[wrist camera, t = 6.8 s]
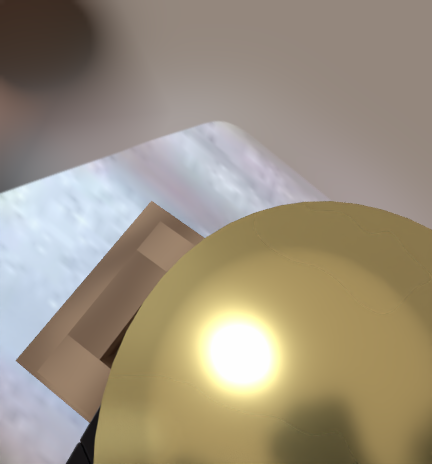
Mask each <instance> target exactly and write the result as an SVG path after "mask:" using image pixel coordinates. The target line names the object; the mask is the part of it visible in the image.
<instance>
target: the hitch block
mask: <svg viewBox="0 0 432 464" xmlns="http://www.w3.org/2000/svg"><path fill="white" fill-rule="evenodd" d="M204 239H205V238H204V237H202V236H201V235H200V234H198V233H197V232H195V231H194V230H192V229H191V228H190V227H188V226H187V225H185V224H184V223H182V222H181V221H180V220H178V219H177V218H175V217H174V216H172V215H171V214H170V213H168V212H167V211H165V210H164V209H162V208H161V207H160V206H158V205H157V204H155V203H154V202H152V201H151V202H150V203H149V204H148V206H147V207H146V208H145V209H144V210H143V212H142V213H141V214H140V215H139V216H138V217H137V219H136V220H135V221H134V222H133V223H132V224H131V226H130V227H129V228H128V229H127V230H126V232H125V233H124V234H123V235H122V236H121V237H120V239H119V240H118V241H117V242H116V243H115V244H114V246H113V247H112V248H111V249H110V250H109V252H108V253H107V254H106V255H105V256H104V257H103V259H102V260H101V261H100V262H99V263H98V264H97V266H96V267H95V268H94V269H93V270H92V271H91V273H90V274H89V275H88V276H87V277H86V279H85V280H84V281H83V282H82V283H81V284H80V286H79V287H78V288H77V289H76V290H75V291H74V293H73V294H72V295H71V296H70V297H69V299H68V300H67V301H66V302H65V303H64V304H63V306H62V307H61V308H60V309H59V310H58V311H57V313H56V314H55V315H54V316H53V317H52V319H51V320H50V321H49V322H48V323H47V324H46V326H45V327H44V328H43V329H42V330H41V331H40V333H39V334H38V335H37V336H36V337H35V339H34V340H33V341H32V342H31V343H30V344H29V346H28V347H27V348H26V349H25V350H24V351H23V353H22V354H21V355H20V356H19V357H18V358H17V360H16V361H17V362H18V363H19V364H20V365H21V366H23V367H24V368H25V369H26V370H27V371H29V372H30V373H31V374H32V375H33V376H34V377H36V378H37V379H38V380H39V381H40V382H42V383H43V384H44V385H45V386H46V387H48V388H49V389H50V390H51V391H52V392H54V393H55V394H56V395H57V396H58V397H59V398H61V399H62V400H63V401H64V402H65V403H67V404H68V405H69V406H70V407H71V408H73V409H74V410H75V411H76V412H77V413H79V414H80V415H81V416H82V417H83V418H84V419H86V420H87V421H88V422H89V423H90V422H91V420H92V418H93V417H94V415H95V413H96V412H97V410H98V408H99V406H100V405H101V402H102V398H103V394H104V391H105V388H106V384H107V381H108V378H109V374H110V371H111V368H112V364H113V362H114V359H115V357H116V355H117V352H118V350H119V348H120V345H121V343H122V341H123V338H124V336H125V334H126V331H127V330H128V328H129V326H130V324H131V323H132V321H133V319H134V317H135V316H136V314H137V312H138V311H139V309H140V307H141V305H142V304H143V302H144V301H145V299H146V298H147V297H148V295H149V294H150V293H151V291H152V290H153V289H154V287H155V286H156V285H157V283H158V282H159V281H160V279H161V278H162V277H163V276H164V275H165V274H166V273H167V272H168V271H169V270H170V269H171V268H172V267H173V266H174V265H175V264H176V263H177V261H178V260H179V259H180V258H181V257H182V256H183V255H185V254H186V253H187V252H188V251H190V250H191V249H192V248H193V247H195V246H196V245H197V244H198V243H200V242H201V241H202V240H204Z"/></svg>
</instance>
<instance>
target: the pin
mask: <svg viewBox="0 0 432 464" xmlns="http://www.w3.org/2000/svg"><path fill="white" fill-rule="evenodd" d="M94 464H432V230H431V229H429V228H427V227H425V226H423V225H421V224H419V223H416V222H414V221H412V220H410V219H408V218H405V217H402V216H399V215H396V214H393V213H391V212H388V211H385V210H381V209H377V208H373V207H368V206H364V205H359V204H352V203H342V202H333V201H323V202H301V203H294V204H287V205H281V206H277V207H273V208H270V209H266V210H263V211H259V212H256V213H253V214H250V215H248V216H246V217H243V218H241V219H239V220H237V221H234V222H232V223H230V224H228V225H226V226H225V227H223V228H221V229H220V230H218V231H216V232H215V233H213V234H211V235H210V236H208V237H206V238H205V239H204V240H202V241H201V242H200V243H198V244H197V245H196V246H195V247H193V248H192V249H191V250H190V251H188V252H187V253H186V254H185V255H183V256H182V257H181V258H180V259H179V260H178V261H177V263H176V264H175V265H174V266H173V267H172V268H171V269H170V270H169V271H168V272H167V273H166V274H165V275H164V276H163V277H162V278H161V279H160V281H159V282H158V283H157V285H156V286H155V287H154V289H153V290H152V291H151V293H150V294H149V295H148V297H147V298H146V299H145V301H144V302H143V304H142V305H141V307H140V309H139V311H138V312H137V314H136V316H135V317H134V319H133V321H132V323H131V324H130V326H129V328H128V330H127V331H126V334H125V336H124V338H123V341H122V343H121V345H120V348H119V350H118V352H117V355H116V357H115V359H114V362H113V364H112V368H111V371H110V374H109V378H108V381H107V384H106V388H105V391H104V394H103V398H102V402H101V408H100V414H99V419H98V425H97V431H96V436H95V448H94Z"/></svg>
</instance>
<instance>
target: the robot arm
mask: <svg viewBox="0 0 432 464" xmlns="http://www.w3.org/2000/svg"><path fill="white" fill-rule="evenodd" d="M100 408H101V405H100V406H99V408H98V410H97V412H96V413H95V415H94V417H93V418H92V420H91V422H90V424H89V425H88V427H87V429H86V430H85V432H84V434H83V435H82V437H81V439H80V441H81V443H78V444H77V445H76V447H75V449H74V451H73V452H72V454H71V456H70V457H69V459H68V461H67V462H66V464H94V448H95V436H96V431H97V425H98V419H99V414H100Z"/></svg>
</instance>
